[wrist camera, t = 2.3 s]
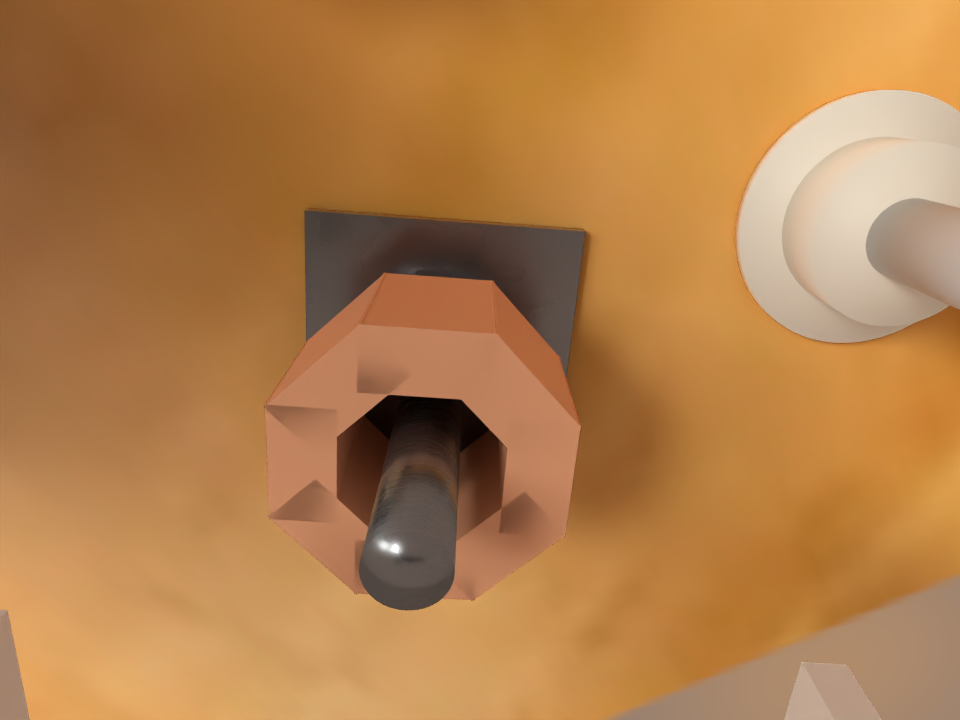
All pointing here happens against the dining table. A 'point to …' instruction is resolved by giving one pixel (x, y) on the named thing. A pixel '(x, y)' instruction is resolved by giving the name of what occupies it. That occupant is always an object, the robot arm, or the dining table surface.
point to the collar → (437, 374)
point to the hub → (856, 218)
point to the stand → (424, 420)
